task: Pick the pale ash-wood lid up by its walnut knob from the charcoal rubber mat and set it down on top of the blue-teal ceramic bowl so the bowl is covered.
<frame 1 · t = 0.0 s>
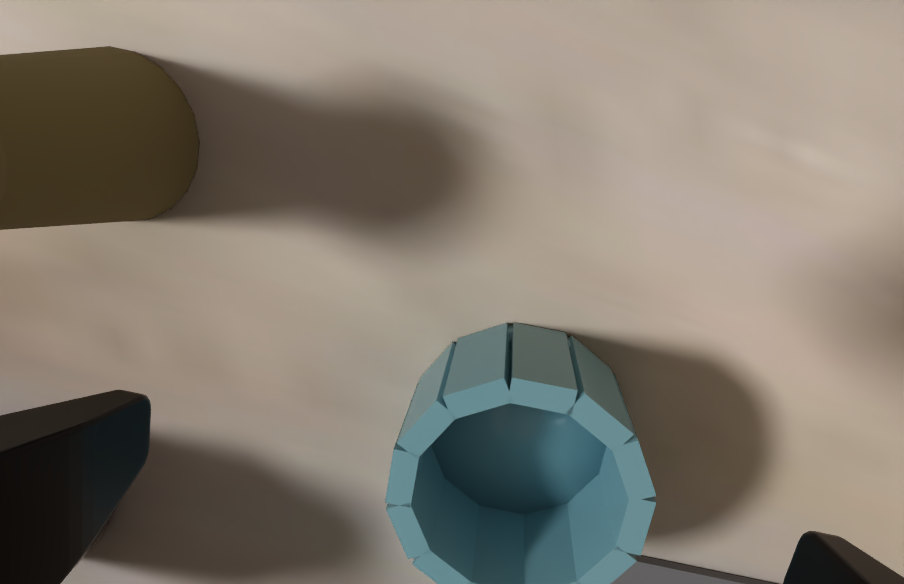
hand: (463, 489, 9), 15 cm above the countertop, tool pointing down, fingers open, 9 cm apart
ceramic bowl: (517, 425, 25), on the countertop
cork: (120, 136, 23), on the countertop
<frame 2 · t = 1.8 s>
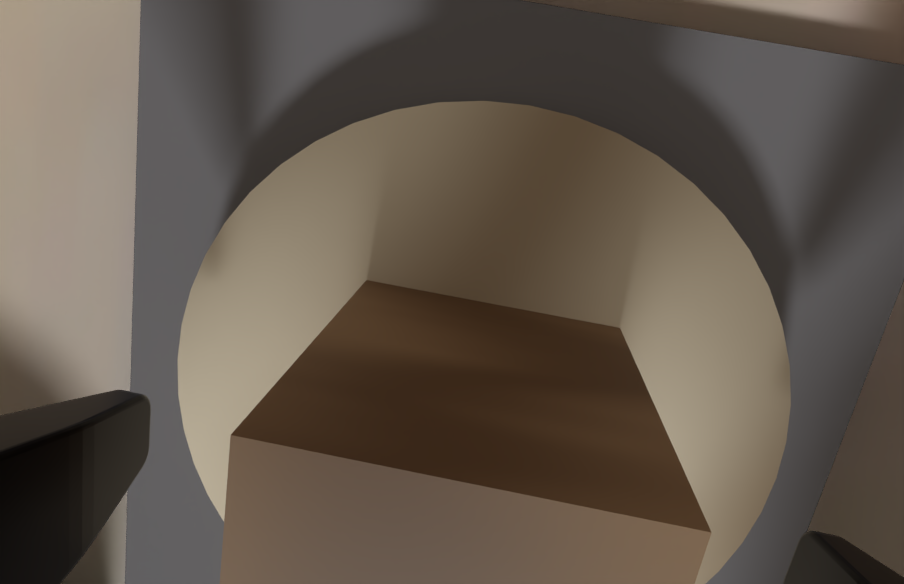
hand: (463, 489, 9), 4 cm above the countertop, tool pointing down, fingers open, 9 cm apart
wooden lid: (474, 387, 12), resting on rubber mat
rubber mat: (476, 378, 12), on the countertop
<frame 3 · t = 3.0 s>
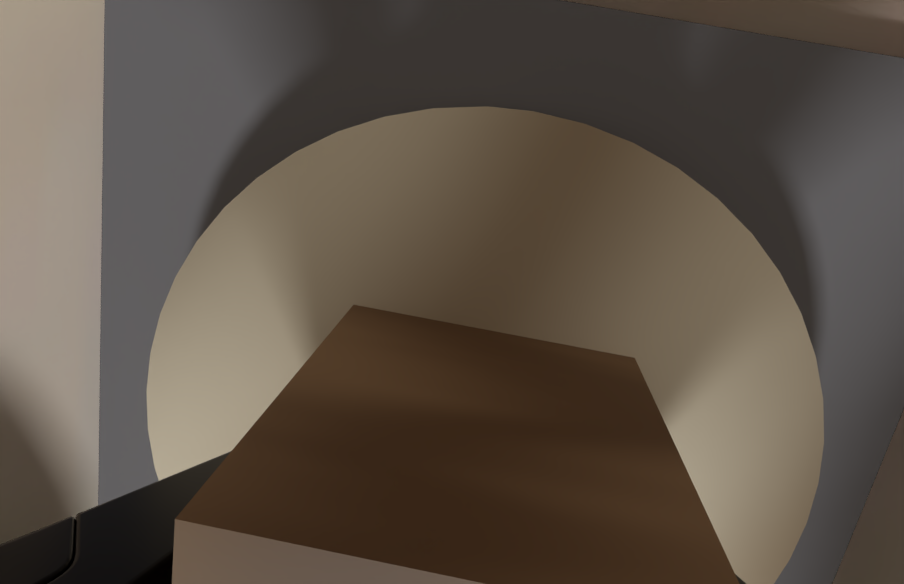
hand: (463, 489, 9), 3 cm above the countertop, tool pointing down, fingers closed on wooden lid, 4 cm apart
wooden lid: (473, 418, 11), resting on rubber mat, touching gripper
rubber mat: (474, 407, 11), on the countertop
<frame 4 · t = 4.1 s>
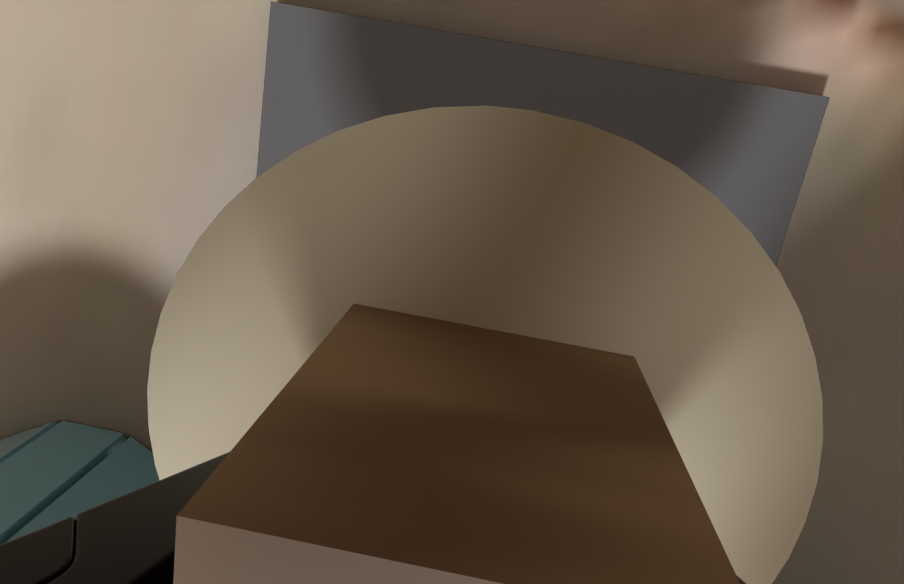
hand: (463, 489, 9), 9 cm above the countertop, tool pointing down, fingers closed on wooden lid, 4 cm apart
wooden lid: (473, 417, 11), point 7 cm above the countertop, touching gripper
ceramic bowl: (92, 538, 21), on the countertop
rubber mat: (492, 308, 17), on the countertop
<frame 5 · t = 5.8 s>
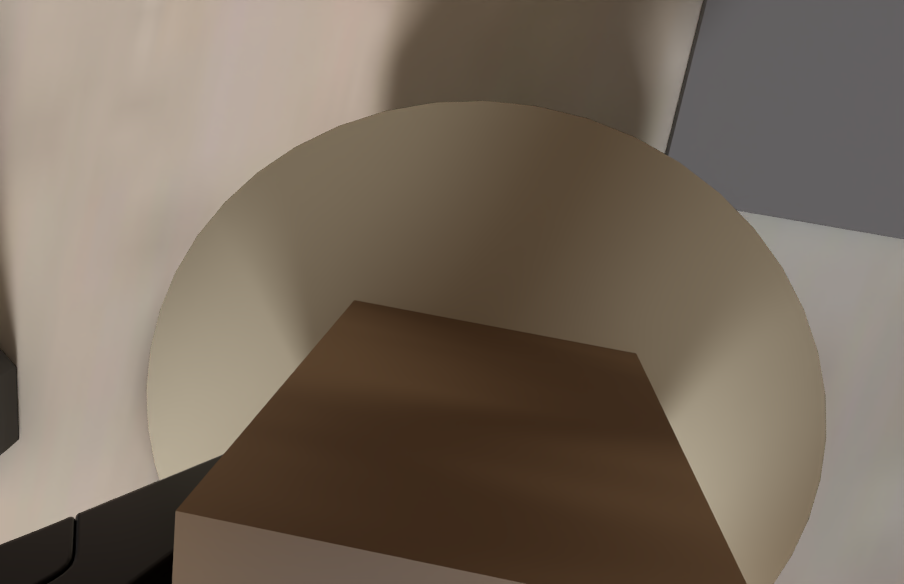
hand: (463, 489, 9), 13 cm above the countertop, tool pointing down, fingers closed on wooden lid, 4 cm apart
wooden lid: (474, 414, 11), point 10 cm above the countertop, touching gripper
when the fingers open (9 cm above the countertop, at t = 7.0 s): wooden lid drops 2 cm, resting on ceramic bowl.
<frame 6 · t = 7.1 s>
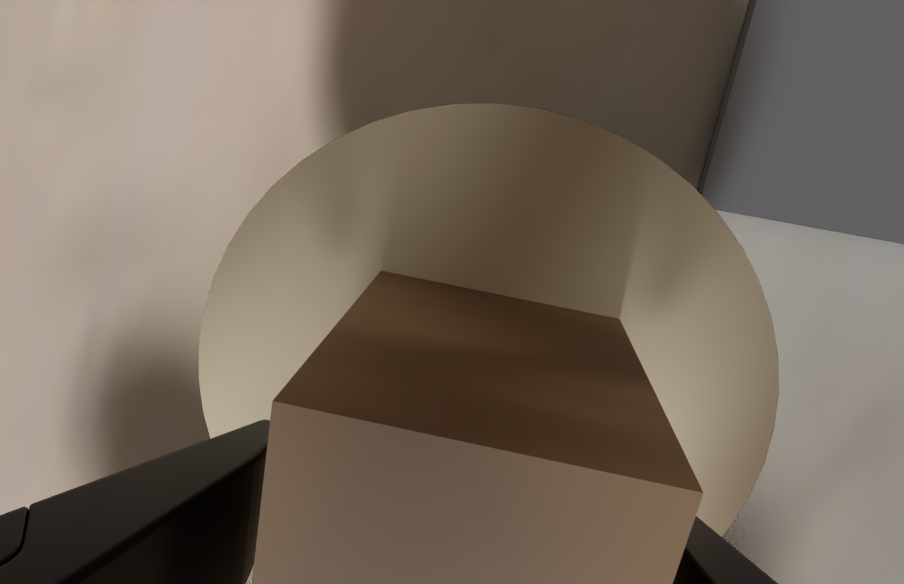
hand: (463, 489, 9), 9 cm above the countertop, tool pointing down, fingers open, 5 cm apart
wooden lid: (480, 375, 12), point 5 cm above the countertop, touching ceramic bowl
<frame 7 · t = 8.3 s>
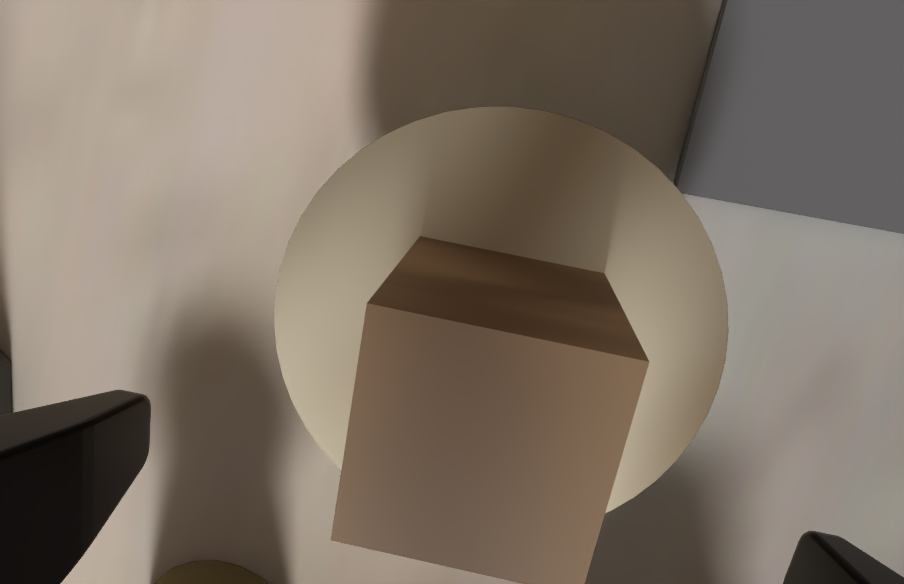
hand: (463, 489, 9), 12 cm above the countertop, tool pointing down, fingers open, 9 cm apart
wooden lid: (495, 323, 16), point 5 cm above the countertop, touching ceramic bowl
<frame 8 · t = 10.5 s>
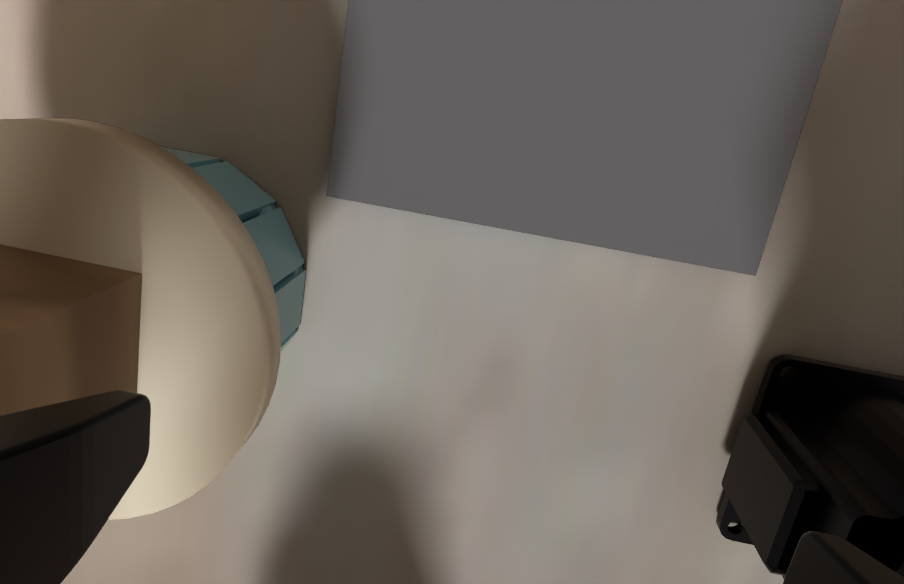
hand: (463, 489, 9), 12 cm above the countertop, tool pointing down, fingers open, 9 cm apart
wooden lid: (89, 321, 17), point 5 cm above the countertop, touching ceramic bowl
ceramic bowl: (185, 274, 21), on the countertop
rubber mat: (585, 4, 18), on the countertop
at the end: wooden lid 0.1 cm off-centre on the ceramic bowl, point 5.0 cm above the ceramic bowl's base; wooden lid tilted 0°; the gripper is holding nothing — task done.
